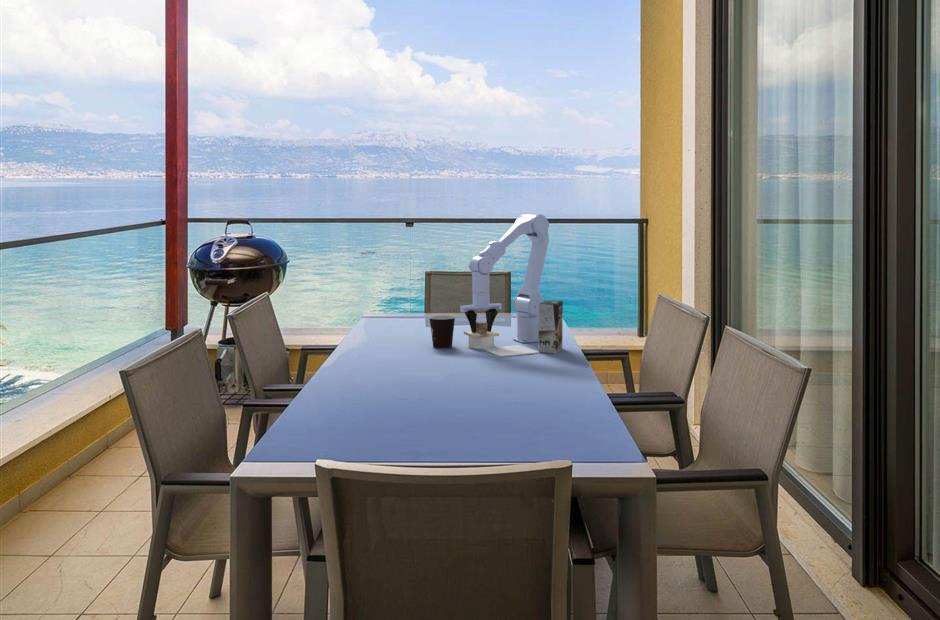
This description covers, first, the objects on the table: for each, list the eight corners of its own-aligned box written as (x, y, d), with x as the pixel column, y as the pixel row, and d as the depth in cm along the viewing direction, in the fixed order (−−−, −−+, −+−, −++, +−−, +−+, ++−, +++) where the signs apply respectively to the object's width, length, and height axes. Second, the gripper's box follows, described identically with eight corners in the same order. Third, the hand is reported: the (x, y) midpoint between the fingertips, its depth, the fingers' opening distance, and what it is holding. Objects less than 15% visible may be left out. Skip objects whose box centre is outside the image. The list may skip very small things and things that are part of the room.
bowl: (487, 343, 293) (487, 332, 292) (497, 347, 286) (497, 335, 285) (465, 345, 290) (465, 333, 289) (475, 349, 283) (475, 337, 282)
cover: (487, 331, 293) (487, 319, 292) (499, 335, 285) (499, 323, 284) (463, 333, 289) (463, 321, 289) (474, 338, 281) (474, 325, 281)
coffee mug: (452, 349, 283) (451, 319, 282) (427, 348, 285) (426, 319, 284) (459, 342, 295) (459, 314, 293) (435, 342, 296) (434, 313, 295)
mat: (519, 346, 288) (519, 344, 288) (539, 353, 275) (539, 352, 275) (482, 349, 282) (482, 348, 282) (500, 357, 270) (500, 355, 270)
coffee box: (557, 353, 275) (557, 304, 272) (537, 352, 277) (537, 303, 274) (563, 348, 283) (563, 300, 281) (544, 347, 285) (544, 299, 283)
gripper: (465, 294, 279) (466, 335, 281) (505, 292, 284) (505, 332, 286) (457, 292, 285) (458, 332, 287) (496, 289, 291) (496, 328, 293)
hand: (481, 331), depth 287 cm, fingers open, 5 cm apart
